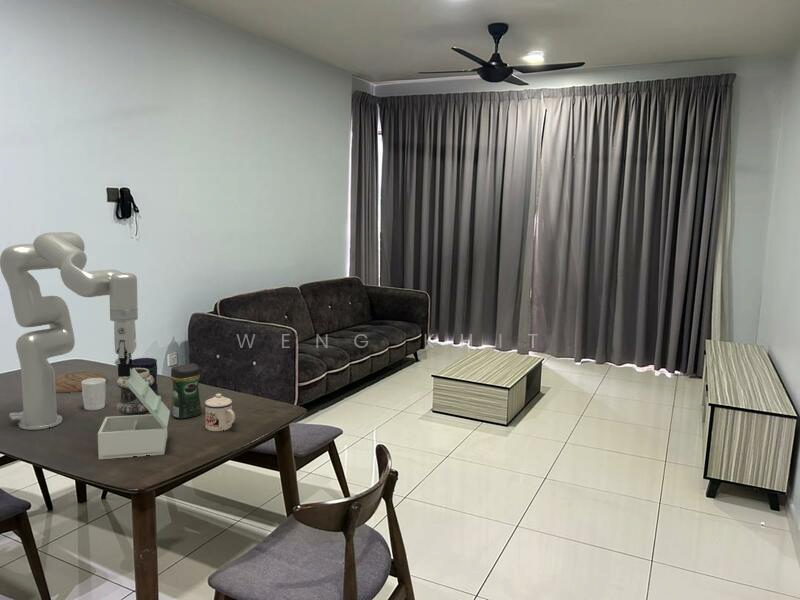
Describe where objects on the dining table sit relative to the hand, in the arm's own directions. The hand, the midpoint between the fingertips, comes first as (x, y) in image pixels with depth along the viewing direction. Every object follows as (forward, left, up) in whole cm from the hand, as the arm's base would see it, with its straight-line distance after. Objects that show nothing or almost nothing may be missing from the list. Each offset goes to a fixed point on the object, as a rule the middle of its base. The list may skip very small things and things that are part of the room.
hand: (125, 373), depth 183 cm
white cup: (-16, +41, -24) cm, 50 cm away
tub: (+2, 0, -24) cm, 24 cm away
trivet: (-29, +72, -24) cm, 81 cm away
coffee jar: (+16, +27, -24) cm, 40 cm away
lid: (+4, 0, -6) cm, 7 cm away
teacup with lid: (+28, +12, -24) cm, 39 cm away
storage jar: (0, +48, -24) cm, 54 cm away
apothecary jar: (0, +24, -24) cm, 34 cm away
